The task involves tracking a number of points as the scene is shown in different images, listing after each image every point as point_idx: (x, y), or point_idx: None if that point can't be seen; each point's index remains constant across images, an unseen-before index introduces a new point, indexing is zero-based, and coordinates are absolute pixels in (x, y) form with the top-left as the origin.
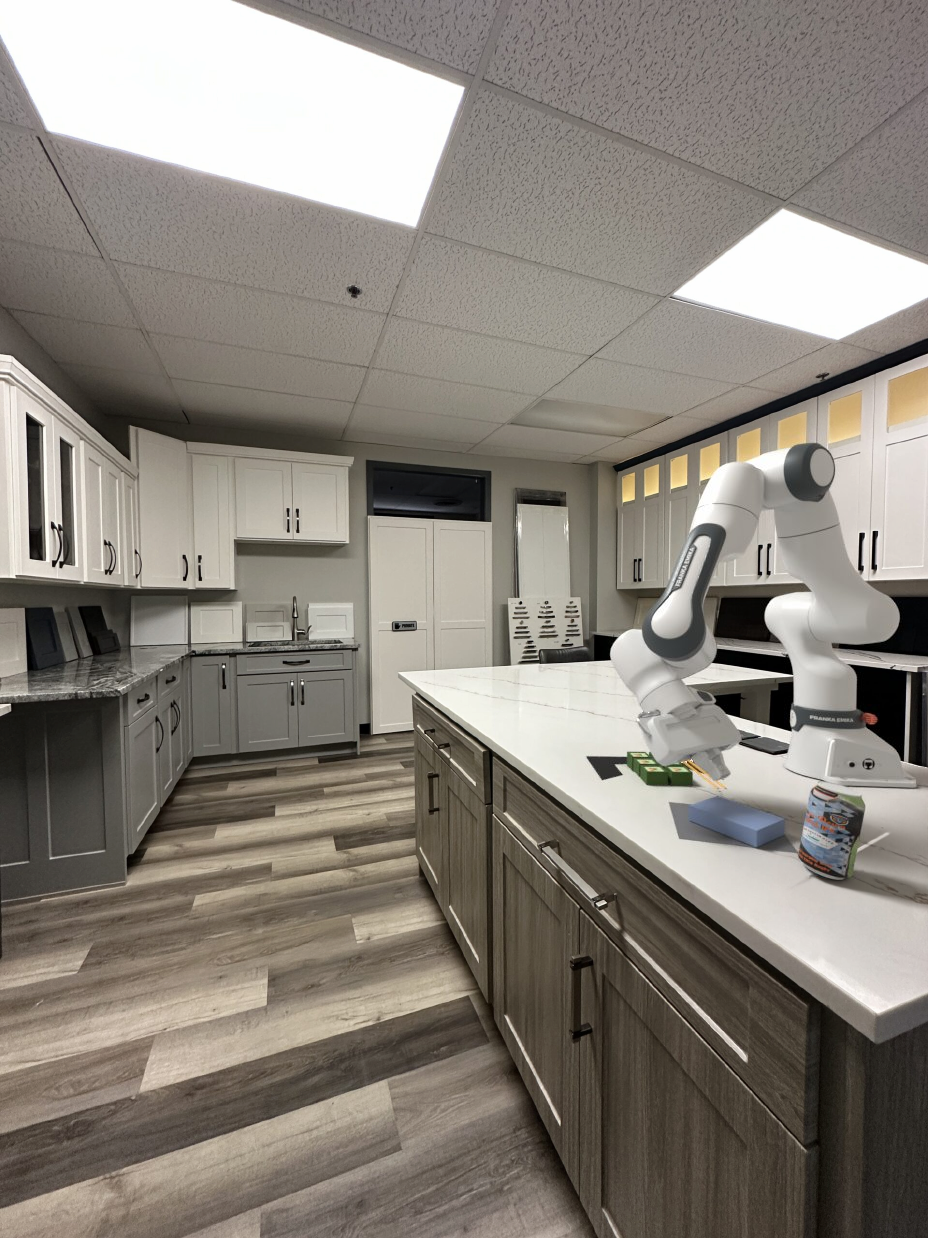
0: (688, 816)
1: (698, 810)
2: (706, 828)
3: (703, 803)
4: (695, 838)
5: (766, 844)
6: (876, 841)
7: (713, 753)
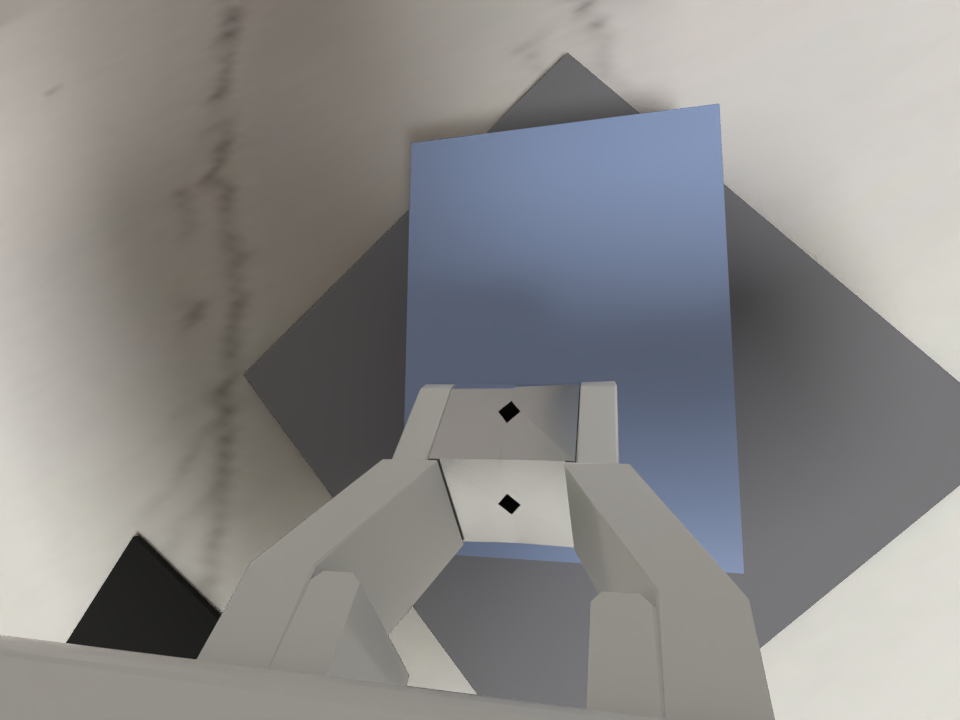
0: None
1: (738, 491)
2: None
3: None
4: (911, 382)
5: None
6: (185, 30)
7: (359, 645)
